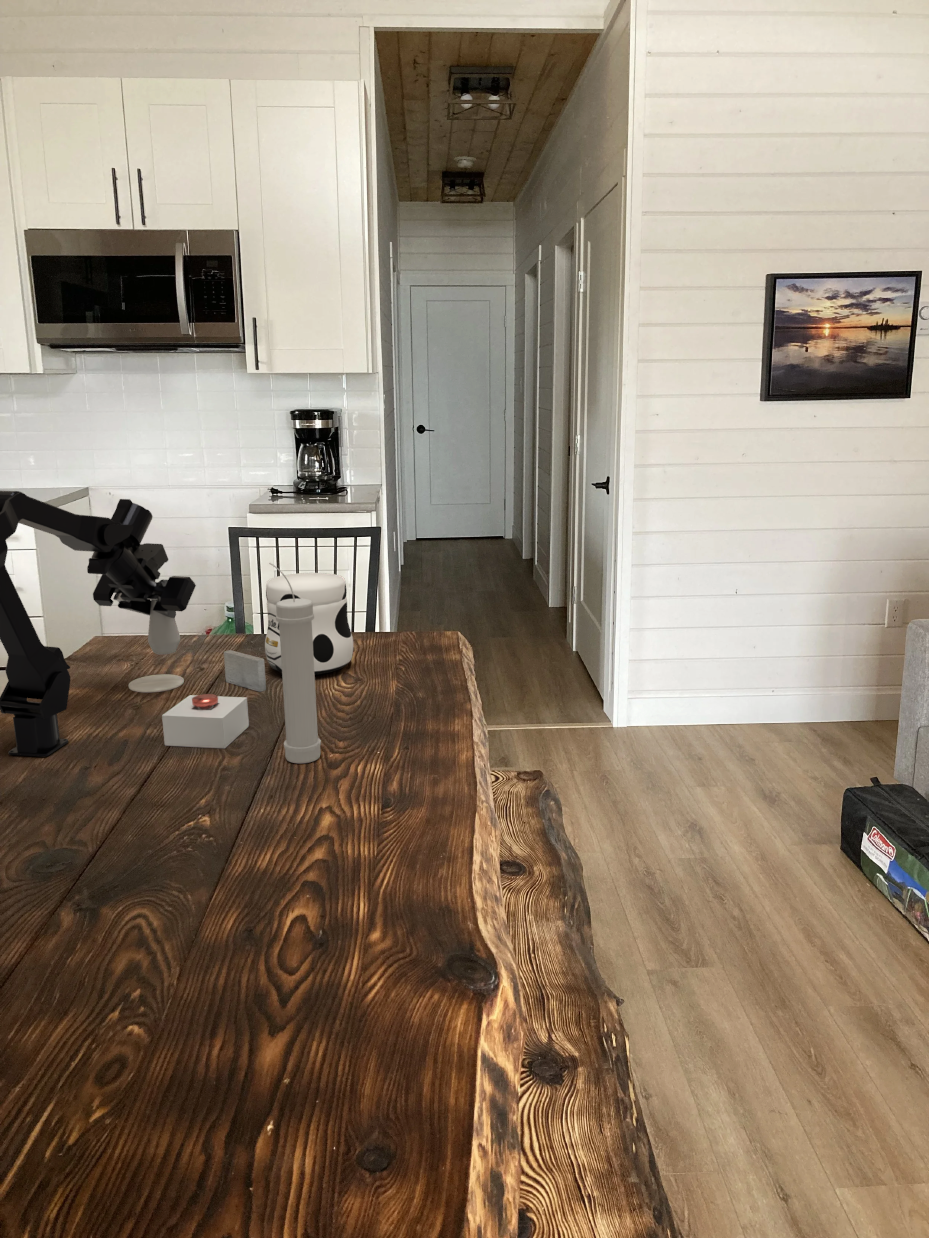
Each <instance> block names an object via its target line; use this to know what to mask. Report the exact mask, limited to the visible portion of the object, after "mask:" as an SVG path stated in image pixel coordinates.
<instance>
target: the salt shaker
mask: <svg viewBox="0 0 929 1238" xmlns="http://www.w3.org/2000/svg"><path fill="white" fill-rule="evenodd" d="M150 600H151V599H150ZM155 604H156V600H151V608H150V616H149V621H148V631H147V632H148V634H147V642H148V645H149V647H150V648H151V650H152V652H153V653H154V654H156V655H170V654H174V653H176V651H177V649H178V646H179V644H180V642H181V636H180V632H179V629H178V625H177V622H176V617H175V618H171V617H167V616H165V615H162V614H160V613H158V612H155V611H153V608H154V606H155Z"/></svg>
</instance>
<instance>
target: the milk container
mask: <svg viewBox="0 0 929 1238" xmlns="http://www.w3.org/2000/svg"><path fill="white" fill-rule="evenodd" d="M284 575H285V576H286V578H287V579H288V581H289V583H290V585H291V587H292V590H293V594H294V599H307V600H310V601H312V603H313V614H314V619H313V620H312V636H313V655H314V674H315V675H316V676H318V675H321V674H328V673H331V672H335V671H339V670H341V669H343V668H344V667H346V666H347V665H349V663H351V660H352V658H353V655H354V654H353V653H354V637H353V634H352V631H351V628H350V625H349V620H348V599H347V598H348V597H347V592H348V591H347V585H346V584H347V583H346V580H345V578H344V577H343V576H342V575H339V574H335V573H327V572H301V573H300V572H299V573H298V572H297V573H290V574H284ZM265 597H266V598H265V599H266V610H267V613H266V614H267V622H268V623H267V630H266V631H267V632H266V635H265V640H264V653H265V657H266V661H267V663H268V665H269V666H270V668H271V669H273V670H274V671H277V672H279V673H281V674H282V662H281V646H280V630H279V622H277V621H276V616H277V612H276V604H277V603H278V602H279V601H282V600H286V599H293V595H292V592H291V589H290V586H289V584H288V582H287V580H286V579H285V577H284V576H283V575H279V576H274V577H272V578H269V579H268V580H267V581H266V585H265Z"/></svg>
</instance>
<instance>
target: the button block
mask: <svg viewBox="0 0 929 1238" xmlns="http://www.w3.org/2000/svg"><path fill="white" fill-rule="evenodd" d="M195 696H198V695H196V694H192V695H191V694H190V695H187V697H185V698H184V699H182V700H181V701H179V702H178V703H177V704H176V705H174V706H173V707H171V708H170V709H169V710H167V711H166V712H165V713H163V714H162V715H161V720H162V728H163V740H164V741H163V742H164V746H168V747H191V748H206V749H207V748H210V749H211V748H212V749H226V748H227V747H228V746H229V745H230V744H231V743H232V742H234V741H235V740H236V739H237V738H238V737H239V736H240V735H241V734H242V733H243V732H244V731H245V730H246V729H247V728H249V726H250V721H249V710H248V709H249V708H248V697H244V696H240V697H239V696H221V695H219V696H218V695H217V696H218V703H217V704H215V705H213V709H212V710H198V707H196V706H193V705H192V698H193V697H195Z"/></svg>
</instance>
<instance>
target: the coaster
mask: <svg viewBox="0 0 929 1238" xmlns="http://www.w3.org/2000/svg"><path fill="white" fill-rule="evenodd" d="M184 681H185V680H184V678H183V677H182V676H181V675H177V674H166V673H165V674H164V673H163V674H152V675H145V676H142V677H137V678H136V679H133V680H132V681H130V682H128V689H129V690H130V691H133V692H137V693H159V692H160V693H161V692H166V691H170V690H174V689H177V688H179V687H181V686H182V685H183V684H184Z"/></svg>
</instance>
